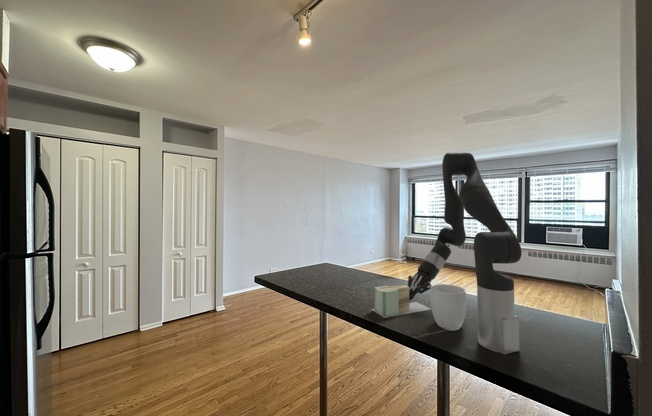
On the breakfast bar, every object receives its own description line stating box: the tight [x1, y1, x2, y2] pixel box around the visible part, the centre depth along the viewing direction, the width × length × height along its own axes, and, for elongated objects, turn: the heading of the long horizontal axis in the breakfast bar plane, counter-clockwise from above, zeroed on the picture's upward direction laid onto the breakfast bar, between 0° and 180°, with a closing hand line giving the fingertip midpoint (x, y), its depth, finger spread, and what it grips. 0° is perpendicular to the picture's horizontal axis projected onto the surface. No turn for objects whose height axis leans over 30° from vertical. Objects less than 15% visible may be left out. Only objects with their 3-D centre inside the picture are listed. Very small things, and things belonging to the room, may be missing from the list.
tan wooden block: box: [379, 284, 410, 311], centre depth 104 cm, size 4×12×9 cm, turn 110°
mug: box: [430, 283, 468, 332], centre depth 91 cm, size 15×11×13 cm
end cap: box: [373, 285, 399, 316], centre depth 102 cm, size 7×7×9 cm
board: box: [371, 301, 431, 319], centre depth 105 cm, size 9×22×1 cm, turn 110°
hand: (407, 298), depth 106 cm, fingers closed
